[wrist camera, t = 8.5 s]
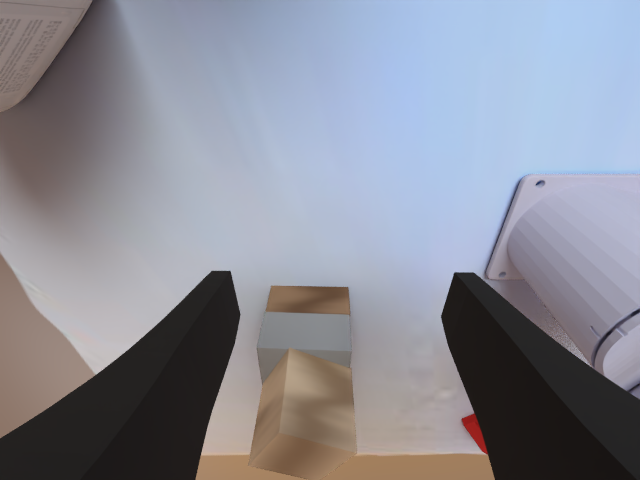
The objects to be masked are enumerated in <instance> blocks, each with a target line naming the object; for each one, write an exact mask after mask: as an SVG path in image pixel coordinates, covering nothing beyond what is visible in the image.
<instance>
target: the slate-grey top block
mask: <svg viewBox="0 0 640 480" xmlns="http://www.w3.org/2000/svg"><path fill="white" fill-rule="evenodd" d="M289 347H290V348H293V349H295V350H298V351H301V352H304V353H307V354H310V355H313V356H316V357H319V358H322V359H325V360H328V361H330V362H333V363H336V364H339V365H342V366H345V367H348V368H350V362H351V354H352V346H351V331H350V316H349V315H346V314H317V313H285V312H265V313H264V318H263V322H262V327H261V331H260V336H259V340H258V344H257V353H258V359H259V366H260V372H261V379H262V385H263V383H264V381H265V380H266V379H267V377H268V376H269V374H270V373H271V372H272V370H273V369H274V368H275V366H276V365H277V364H278V362H279V361H280V360H281V358H282V357H283V355H284V354H285V353H286V351H287V350H288V349H289Z"/></svg>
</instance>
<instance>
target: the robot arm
mask: <svg viewBox="0 0 640 480" xmlns="http://www.w3.org/2000/svg"><path fill="white" fill-rule="evenodd" d="M540 180H541V183H540V184H538V185H536V183H537V182H538V181H540ZM501 272H503V273H501ZM500 273H501V274H500ZM486 274H487V276H488V278H489V279H493V280H526V282H527V283H528V284H529V285H530V287H531V288H532V289H533V291H534V292H535V293H536V295H537V296H538V297H539V298H540V300H541V301H542V302H543V304H544V305H545V306H546V308H547V309H548V310H549V311H550V313H551V314H552V315H553V317H554V318H555V319H556V321H557V322H558V323H559V325H560V326H561V327H562V328H563V330H564V331H565V332H566V334H567V335H568V336H569V338H570V339H571V340H572V341H573V343H574V344H575V345H576V347H577V348H578V349H579V351H580V352H581V353H582V354H583V356H584V357H585V358H586V360H587V361H588V362H589V364H590V365H591V366H592V367H590V366H589V365H587V364H586V363H585V362H583V361H582V360H580V359H579V358H578V357H576V356H575V355H574V354H572V353H571V352H570V351H568V350H567V349H566V348H564V347H563V346H562V345H560V344H559V343H558V342H556V341H555V340H554V339H553V338H551V337H550V336H549V335H547V334H546V333H545V332H544V331H542V330H541V329H540V328H539V327H537V326H536V325H535V324H534V323H533V322H531V321H530V320H529V319H528V318H526V317H525V316H524V315H523V314H522V313H521V312H519V311H518V310H517V309H516V308H515V307H513V306H512V305H511V304H510V303H509V302H508V301H507V300H505V299H504V298H503V297H502V296H501V295H500V294H498V293H497V292H496V291H495V290H494V289H493V288H492V287H490V286H489V285H488V284H487V283H486V282H485V281H483V280H482V279H481V278H480V277H479V276H477V275H476V274H475V273H457V272H454V276H453V279H452V282H451V286H450V289H449V292H448V295H447V299H446V302H445V305H444V309H443V312H442V315H441V318H442V323H443V327H444V331H445V335H446V339H447V343H448V346H449V349H450V352H451V354H452V357H453V359H454V362H455V365H456V367H457V370H458V372H459V375H460V377H461V380H462V382H463V385H464V387H465V390H466V392H467V395H468V398H469V400H470V403H471V405H472V408H473V410H474V413H475V415H476V418H477V421H478V424H479V427H480V429H481V432H482V436H483V439H484V443H485V446H486V449H487V453H488V456H489V460H490V463H491V467H492V470H493V474H494V477H495V480H640V174H528V175H526V176H524V177H523V178H522V179H521V181H520V183H519V186H518V189H517V191H516V194H515V197H514V199H513V202H512V205H511V207H510V210H509V213H508V215H507V218H506V220H505V223H504V226H503V228H502V231H501V234H500V236H499V239H498V242H497V244H496V247H495V250H494V252H493V255H492V258H491V260H490V263H489V266H488V268H487V271H486ZM239 319H240V311H239V306H238V302H237V297H236V293H235V289H234V284H233V280H232V275H231V271H211V272H210V273H209V274H208V275H207V276H206V277H205V278H204V279H203V280H202V281H201V282H200V283H199V284H198V285H197V286H196V287H195V288H194V289H193V290H192V291H191V292H190V293H189V294H188V295H187V296H186V297H185V298H184V299H183V300H182V301H181V302H180V303H179V304H178V305H177V306H176V307H175V308H174V309H173V310H172V311H171V312H170V313H169V314H168V315H167V316H166V317H165V318H164V319H163V320H162V321H160V322H159V323H158V324H157V325H156V326H155V327H154V328H153V329H152V330H150V331H149V332H148V333H147V334H146V335H145V336H144V337H143V338H141V339H140V340H139V341H138V342H137V343H136V344H135V345H133V346H132V347H131V348H130V349H129V350H127V351H126V352H125V353H124V354H122V355H121V356H120V357H119V358H118V359H116V360H115V361H114V362H112V363H111V364H110V365H108V366H107V367H106V368H105V369H103V370H102V371H101V372H99V373H98V374H97V375H95V376H94V377H93V378H91V379H90V380H88V381H87V382H86V383H84V384H83V385H81V386H80V387H78V388H77V389H75V390H74V391H73V392H71V393H70V394H68V395H67V396H65V397H64V398H62V399H61V400H60V401H58V402H57V403H55V404H54V405H52V406H51V407H49V408H48V409H46V410H45V411H43V412H42V413H40V414H39V415H37V416H35V417H34V418H32V419H31V420H29V421H28V422H26V423H24V424H23V425H21V426H20V427H18V428H16V429H15V430H13V431H12V432H10V433H9V434H7V435H5V436H3V437H2V438H0V480H195V478H196V474H197V469H198V465H199V460H200V456H201V452H202V448H203V444H204V439H205V435H206V431H207V427H208V423H209V420H210V416H211V413H212V410H213V407H214V404H215V401H216V398H217V395H218V392H219V389H220V386H221V383H222V380H223V377H224V374H225V371H226V368H227V365H228V362H229V359H230V356H231V353H232V350H233V347H234V344H235V339H236V335H237V330H238V325H239Z"/></svg>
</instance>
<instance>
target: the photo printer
mask: <svg viewBox="0 0 640 480" xmlns="http://www.w3.org/2000/svg"><path fill="white" fill-rule="evenodd" d="M92 1H93V0H0V112H3V111H6V110H8V109H10V108H12V107H13V106H15V105H16V104H18V103H19V102H20V101H21V100H23V99H24V98H25V97H26V96H27V94H28V93H29V92H30V91H31V90H32V88H33V87H34V86H35V84H36V83H37V82H38V81H39V79H40V78H41V77H42V75H43V74H44V72H45V71H46V70H47V68H48V67H49V66H50V64H51V63H52V61H53V60H54V58H55V57H56V56H57V54H58V53H59V51H60V50H61V49H62V47H63V46H64V44H65V43H66V41H67V40H68V38H69V37H70V36H71V34H72V33H73V31H74V30H75V28H76V26H77V25H78V24H79V23H80V21H81V19H82V18H83V16H84V15H85V13H86V11H87V10H88V8H89V6H90V4H91V3H92Z"/></svg>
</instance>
